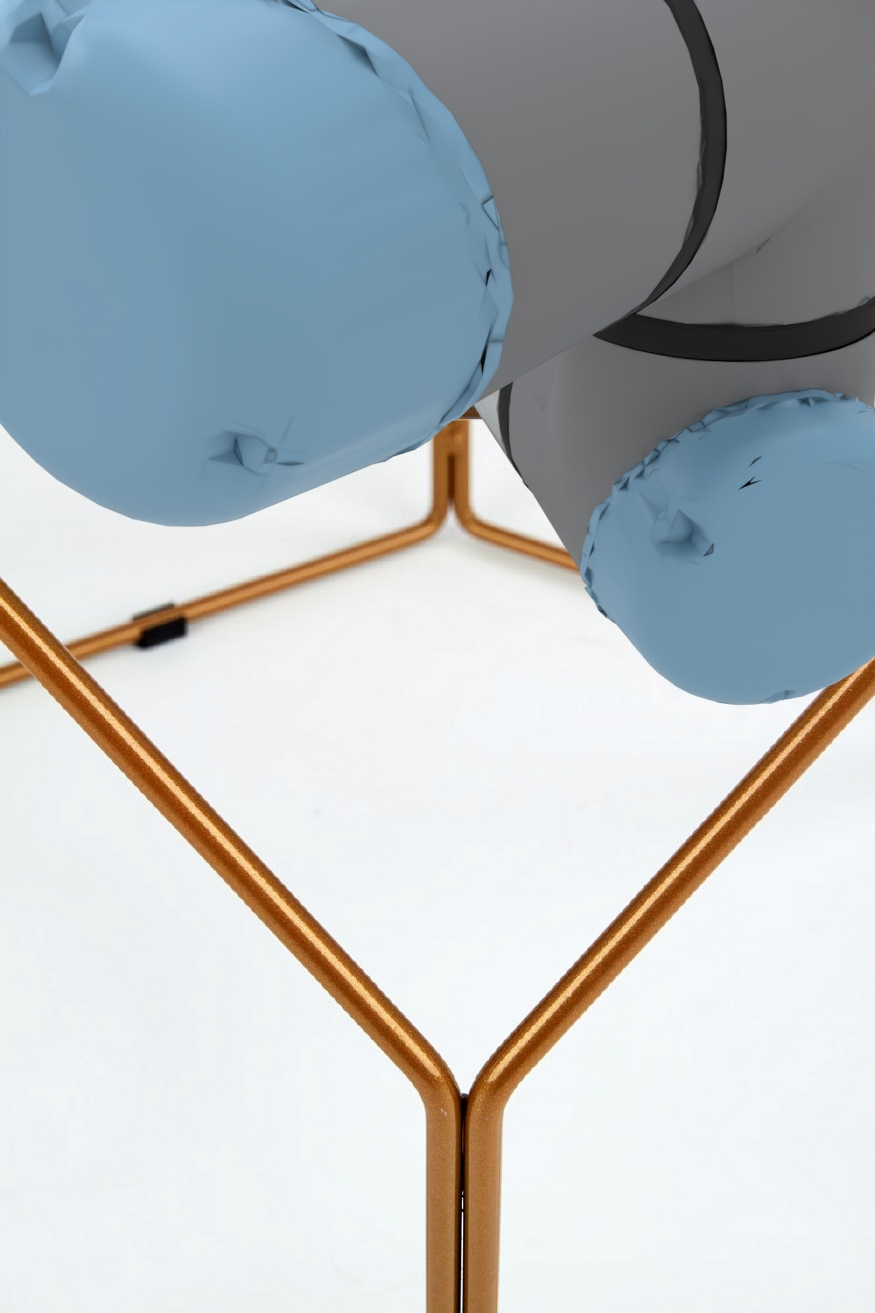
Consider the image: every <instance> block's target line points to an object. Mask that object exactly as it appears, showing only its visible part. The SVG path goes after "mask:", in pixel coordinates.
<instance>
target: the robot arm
mask: <svg viewBox="0 0 875 1313" xmlns="http://www.w3.org/2000/svg"><path fill="white" fill-rule="evenodd" d="M472 407H473V409H474V410H475V411H476V412H477V413H478V415H479V417H480V418H481V420H482V421H483V423H484V425H485V426H486V427H487V429H488V431H489V432H490V434H491V435H492V437H493V438H494V440H495V441H496V443H497V444H498V446H499V448H500V449H501V451H502V452H503V454H504V455H505V457H506V459H507V460H508V461H509V463H510V464H511V466H512V468H513V469H514V471H515V472H516V474H518V476H519V478H521V480H522V484H523V485H524V486H525V487H526V488H527V489H528V490H529V491H530V493H531V494H532V495H533V497H534V499H535V501H536V502H537V503H538V505H539V508H540V509H541V510H542V512H543V514H544V515H545V517H546V518H547V520H548V522H549V523H550V525H551V527H552V528H553V530H554V532H555V533H556V535H557V536H558V538H559V540H560V541H561V543H562V544H563V547H564V548H565V550H566V551H567V553H568V555H569V556H570V558H571V560H572V561H573V562H574V564H575V566H576V568H577V570H578V571H579V576H580V577H581V580H582V582H583V583H584V584H585V585H586V586H585V587H584V590H585V592H586V593H587V595H588V596H589V597H590V599H591V600H592V601H593V602H594V604H595V607H596V610H597V611H598V612H599V613H600V614H601V615H602V616H603V617H604V618H606V619H607V620H609V621H610V622H612V623H613V624H614V625H616V626H617V628H619V630H620V631H621V633H622V634H623V635H624V636H625V637H626V638H627V639H628V641H629V642H630V643H631V644H632V645H633V647H634V648H635V649H636V650H637V652H638V653H639V654H640V656H641V657H642V658H643V659H644V660H645V661H646V663H647V664H648V665H649V666H650V667H651V668H652V669H653V670H654V671H655V672H656V673H657V674H658V675H660V676H661V677H663V678H664V679H665V680H667V681H668V682H669V683H670V684H672V685H673V686H674V687H676V688H678V689H680V690H681V691H684V692H685V693H687V694H689V695H692V696H694V697H696V698H697V697H698V698H701V699H704V700H708V701H711V702H715V703H717V704H722V705H731V706H751V705H752V706H754V705H763V704H764V705H765V704H766V705H769V704H770V705H772V704H774V703H778V702H781V701H785V700H790V699H797V698H802V697H805V696H808V695H810V694H813V693H816V692H818V691H820V690H822V689H825V688H827V687H830V686H833V685H835V684H837V683H840V681H842V680H843V679H845V678H847V677H849V676H850V675H852V674H854V673H855V672H857V671H858V670H859V669H861V668H862V667H864V666H865V665H866V664H868V663H869V662H870V661H871V660H873V659H874V658H875V0H0V426H1V427H2V428H3V429H4V430H5V431H6V432H7V434H8V435H9V436H10V437H11V439H12V440H13V441H14V442H15V443H16V444H17V445H18V446H19V447H20V448H21V449H22V450H23V451H24V452H25V453H26V454H27V455H28V457H30V458H31V459H32V460H33V461H34V462H35V463H36V464H37V465H38V466H40V467H41V468H42V469H43V470H44V471H45V472H47V473H48V474H49V475H50V476H51V477H53V479H55V480H56V481H58V482H59V483H61V484H63V485H64V486H66V487H68V488H69V489H71V490H73V491H74V492H76V493H78V494H79V495H81V496H82V497H84V498H86V499H87V500H89V501H91V502H93V503H94V504H96V505H98V506H100V507H101V508H104V509H107V510H109V511H111V512H114V513H115V514H119V515H121V516H124V517H126V518H127V519H128V518H129V519H131V520H135V521H138V522H143V523H144V522H145V523H149V524H154V525H157V526H158V525H159V526H165V527H172V528H173V527H174V528H175V527H177V528H179V527H180V528H196V527H199V528H200V527H201V528H202V527H209V526H213V525H214V526H215V525H219V524H220V525H221V524H225V523H229V522H234V521H237V520H241V519H243V518H246V517H248V516H250V515H253V514H255V513H258V512H260V511H262V510H263V511H264V510H265V509H268V508H270V507H273V506H275V505H277V504H279V503H282V502H285V501H287V500H290V499H292V498H294V497H297V496H299V495H301V494H304V493H307V492H309V491H312V490H314V489H317V488H319V487H322V486H324V485H326V484H329V483H332V482H334V481H336V480H339V479H341V478H343V477H346V476H348V475H351V474H353V473H356V472H358V471H360V470H363V469H365V468H368V467H371V466H372V465H377V464H382V463H386V462H387V461H389V460H391V459H392V458H394V457H397V456H400V455H403V454H407V453H410V452H413V451H416V450H417V449H419V448H421V447H422V446H424V445H426V444H427V443H429V442H430V441H432V440H433V438H434V437H436V436H437V435H438V434H439V433H440V432H441V431H442V430H443V429H445V428H446V427H447V426H448V425H449V424H450V423H451V422H454V421H457V420H459V419H460V418H461V417H462V416H463V415H464V414H465V413H466V412H468V411H469V409H470V408H472Z"/></svg>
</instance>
